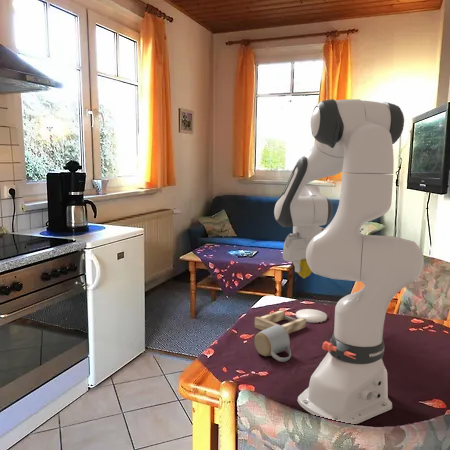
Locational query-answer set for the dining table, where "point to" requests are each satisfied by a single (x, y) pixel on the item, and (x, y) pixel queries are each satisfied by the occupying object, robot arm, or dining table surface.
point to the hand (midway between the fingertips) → (304, 270)
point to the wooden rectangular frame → (277, 316)
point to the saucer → (312, 315)
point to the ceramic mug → (273, 342)
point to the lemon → (304, 269)
